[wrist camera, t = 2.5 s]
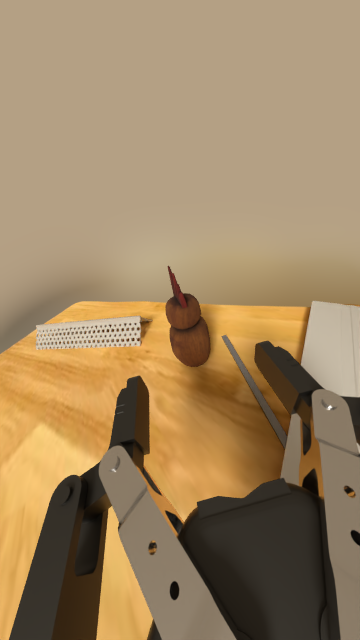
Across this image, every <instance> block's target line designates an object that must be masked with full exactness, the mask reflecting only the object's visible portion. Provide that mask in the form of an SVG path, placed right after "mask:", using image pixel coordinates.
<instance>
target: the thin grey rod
mask: <svg viewBox="0 0 360 640" xmlns="http://www.w3.org/2000/svg"><path fill="white" fill-rule="evenodd" d="M222 338H223V340H224V342H225V344H226V345H227V347H228V349H229V351H230V352H231V354H232V356H233V358H234V360H235V361H236V363H237V365H238V367H239V368H240V370H241V372H242V374H243V376H244V377H245V379H246V381H247V383H248V384H249V386H250V388H251V390H252V392H253V393H254V395H255V397H256V399H257V400H258V402H259V404H260V406H261V408H262V409H263V411H264V413H265V415H266V416H267V418H268V420H269V422H270V424H271V425H272V427H273V429H274V431H275V432H276V434H277V436H278V438H279V439H280V441H281V443H282V445H283V447H284V448H286V442H287V435H286V433H285V432H284V430H283V428H282V427H281V425H280V423H279V422H278V420H277V418H276V417H275V415H274V414H273V412H272V410H271V409H270V407H269V405H268V404H267V402H266V400H265V399H264V397H263V395H262V394H261V392H260V390H259V389H258V387H257V385H256V384H255V382H254V380H253V379H252V377H251V375H250V374H249V372H248V371H247V369H246V367H245V366H244V364H243V362H242V361H241V359H240V357H239V356H238V354H237V352H236V351H235V349H234V347H233V346H232V344H231V342H230V341H229V339H228V337H227V336H226V335H224V336H222Z"/></svg>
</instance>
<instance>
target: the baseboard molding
mask: <svg viewBox="0 0 360 640" xmlns="http://www.w3.org/2000/svg"><path fill="white" fill-rule="evenodd" d="M301 366H302V367H303V368H304V369H305V370H306V371H307V372H308V373H309V374H310V375H311V376H312V377H313V378H314V379H315V380H316V381H317V382H318V383H319V384H320V385H321V386H322V387H323V388H324V389H326V390H329V391H332V392H334V393H336V394H338V395H339V396H347V397H360V307H357V306H353V305H350V306H349V305H341V304H335V303H327V302H318V301H312V304H311V309H310V315H309V321H308V326H307V332H306V337H305V343H304V348H303V354H302V359H301ZM300 419H301V418H300V417H299V415H298V414H297V413H296V414H292V415H291V420H290V426H289V431H288V437H287V442H286V448H285V454H284V459H283V465H282V470H281V476H280V478H284V479H285V481H286V482H287V483H292V484H296V485H298V486H299V464H300V459H301V437H300ZM357 446H358V450H359V453H360V446H359V444H358V443H357Z"/></svg>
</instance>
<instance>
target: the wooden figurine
mask: <svg viewBox="0 0 360 640" xmlns="http://www.w3.org/2000/svg"><path fill="white" fill-rule="evenodd" d="M168 271H169V275H170V280H171V285H172V289H173V294H174V297H172V298H170V299H169V300H168V302H167V303H166V316H167V319H168V321H169V323H170V324H171V328H170V342H171V346H172V350H173V352H174V354H175V356H176V357H177V358H178V359H179V360H180V361H181V362H182V363H183V364H185V365H187V366H190V367H195V366H199V365H202V364H203V363H204V362H206V360H207V359H208V356H209V352H210V337H209V331H208V327H207V324H206V322H205V320H204V319H203V318H202V317H201V316H200V315H201V310H200V305H199V303H198V301H197V299H196V298H195V297H194V296H192V295H191V294H183V293H182V292H181V290H180V287H179V285H178V284H177V281H176V279H175V276H174V274H173V273H172V272H171V269H170V267H169V266H168Z"/></svg>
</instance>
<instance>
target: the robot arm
mask: <svg viewBox="0 0 360 640" xmlns="http://www.w3.org/2000/svg"><path fill="white" fill-rule="evenodd" d="M255 363H256V365H257V367H258V369H259V370H260V371H261V373H262V374H263V376H264V377H265V379H266V380H267V382H268V383H269V385H270V386H271V387H272V389H273V390H274V392H275V393H276V395H277V396H278V398H279V399H280V401H281V402H282V403H283V405H284V406H285V408H286V409H287V411H288V412H289V414H290V415H292V414H296V413H297V414H298V415H299V417H300V418H301V419H300V437H301V459H300V464H299V486H298V485H296V484H292V483H287V482H286V481H285V479H284V478H280V479H277V480H273V481H270V482H266V483H263V484H261V485H260V486H259V487H257V488H256V489H255V490H254V491H252V492H251V493H250V494H249V495H247V496H246V497H245V498H232V497H222V496H217V497H213V498H210V499H206V500H203V501H199V502H197V506H198V507H197V508H195V509H194V510H193V511H192V512H191V513H190V515H189V516H188V517H187V519H186V520H185V522H183V520H182V519H181V517H180V516H179V514H178V513H177V511H176V510H175V508H174V507H173V506H172V504H171V503H170V502H169V500H168V499H167V498H166V497H165V496H164V494H163V493H162V491H161V490H160V488H159V487H158V485H157V484H156V482H155V481H154V479H153V478H152V476H151V475H150V473H149V472H148V470H147V469H146V467H145V466H144V455H146V454H150V447H149V392H148V388H147V386H146V385H145V383H144V381H143V380H142V378H141V376H136V377H132V378H129V379H128V380H127V387H126V388H124V389H122V390H121V392H120V394H119V396H118V398H117V404H116V410H115V416H114V422H113V429H112V435H111V441H110V446H109V449H108V451H107V452H106V453H105V455H104V456H103V458H102V460H101V461H100V462H99V463H98V464H97V465H95V466H94V467H92V468H91V469H90V470H88V471H87V472H85V473H84V474H82V475H81V476H77V475H70V476H68V477H67V478H65V479H64V480H63V481H62V482H61V483H60V484H59V485H58V486H57V488H56V489H55V491H54V493H53V495H52V497H51V500H50V503H49V506H48V510H47V513H46V516H45V520H44V523H43V527H42V530H41V533H40V537H39V540H38V543H37V547H36V550H35V554H34V557H33V560H32V564H31V567H30V570H29V574H28V577H27V581H26V584H25V587H24V591H23V594H22V597H21V601H20V604H19V608H18V611H17V614H16V618H15V621H14V624H13V628H12V631H11V635H10V638H9V640H96V636H97V625H98V615H99V604H100V593H101V582H102V572H103V561H104V550H105V539H106V529H107V518H108V509H109V508H110V507H111V506H113V509H114V511H115V513H116V516H117V518H118V521H119V526H118V532H119V536H120V539H121V542H122V544H123V547H124V549H125V552H126V554H127V557H128V559H129V561H130V564H131V566H132V569H133V571H134V573H135V576H136V578H137V581H138V583H139V585H140V588H141V590H142V593H143V595H144V597H145V600H146V602H147V605H148V607H149V609H150V612H151V614H152V617H153V621H152V625H151V628H150V631H149V635H148V638H147V640H360V453H359V450H358V446H357V443H358V444H359V446H360V397H347V396H339V395H338V394H336V393H334V392H332V391H329V390H326V389H324V388H323V387H322V386H321V385H320V384H319V383H318V382H317V381H316V380H315V379H314V378H313V377H312V376H311V375H310V374H309V373H308V372H307V371H306V370H305V369H304V368H303V367H302V366H301V365H299V363H298V362H297V361H296V360H295V359H294V358H293V357H292V356H291V354H290V353H289V352H288V351H286V350H284V349H283V348H281V347H279V346H278V347H274V346H273V345H272V344H271V343H270V342H269V341H265V342H261V343H257V344H256V346H255Z"/></svg>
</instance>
